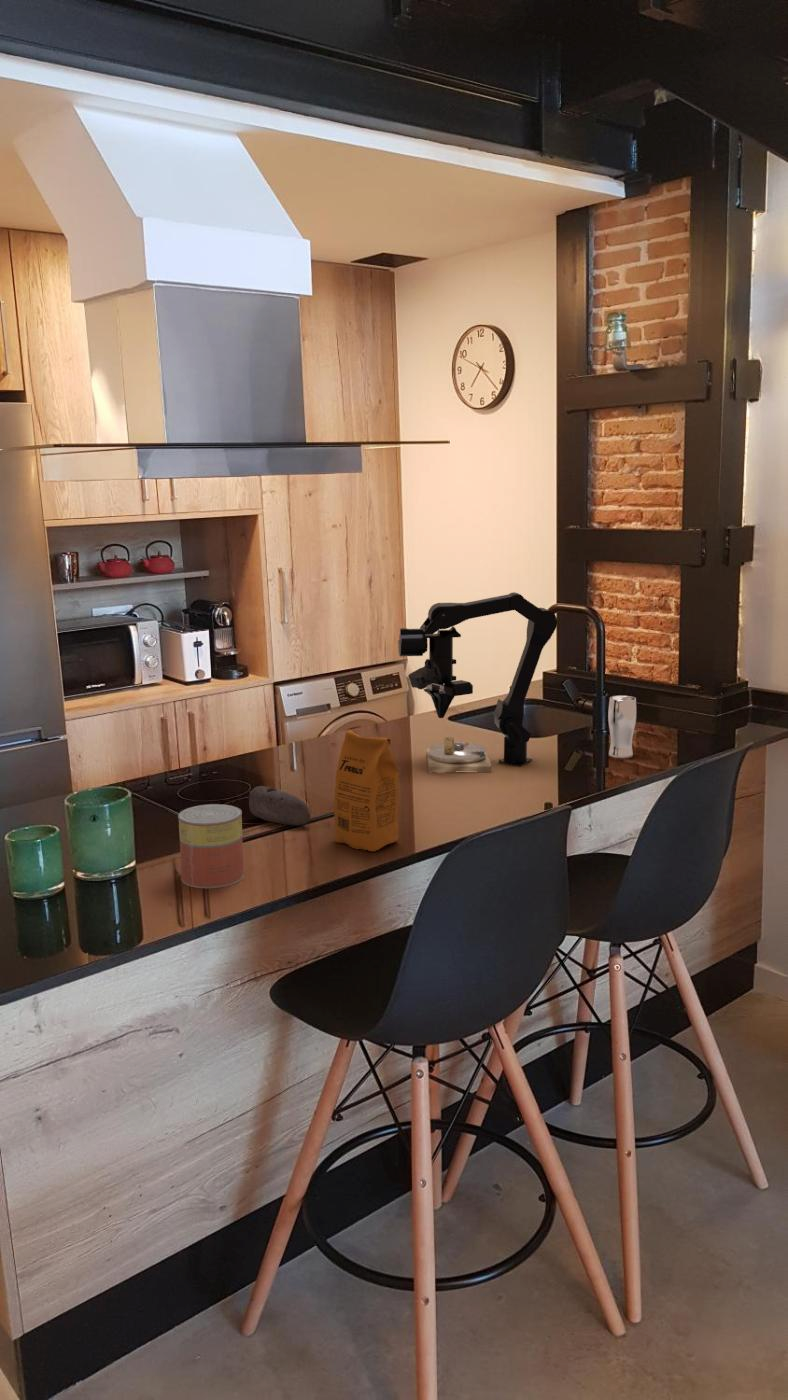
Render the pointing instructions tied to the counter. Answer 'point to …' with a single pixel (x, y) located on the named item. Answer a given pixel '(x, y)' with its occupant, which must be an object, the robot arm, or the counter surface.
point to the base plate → (458, 765)
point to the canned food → (211, 845)
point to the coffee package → (366, 793)
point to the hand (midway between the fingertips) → (440, 717)
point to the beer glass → (621, 725)
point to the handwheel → (457, 752)
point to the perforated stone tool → (278, 806)
